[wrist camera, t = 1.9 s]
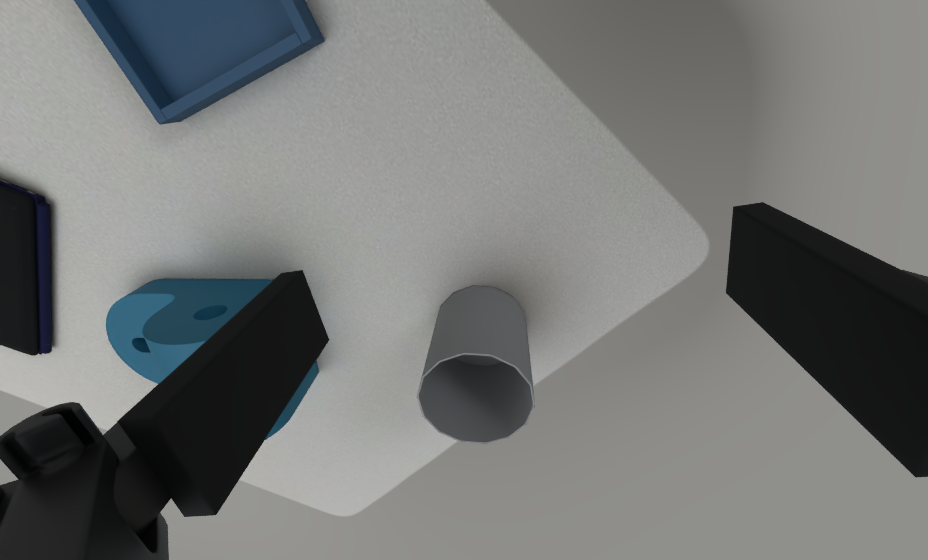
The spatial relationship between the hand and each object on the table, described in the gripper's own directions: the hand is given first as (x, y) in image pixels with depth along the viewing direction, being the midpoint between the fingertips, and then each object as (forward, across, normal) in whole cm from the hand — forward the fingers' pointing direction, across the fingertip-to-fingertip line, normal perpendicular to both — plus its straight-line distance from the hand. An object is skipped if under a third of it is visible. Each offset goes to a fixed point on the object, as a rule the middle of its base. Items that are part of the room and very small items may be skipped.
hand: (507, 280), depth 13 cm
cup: (+22, -4, -15) cm, 26 cm away
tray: (+21, -19, +15) cm, 32 cm away
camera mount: (+22, -30, -11) cm, 38 cm away
